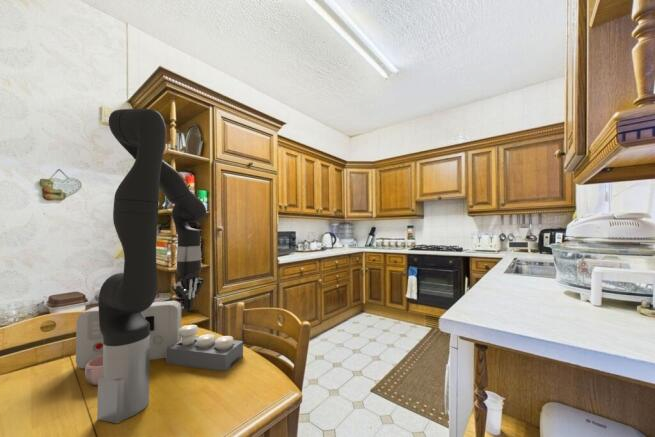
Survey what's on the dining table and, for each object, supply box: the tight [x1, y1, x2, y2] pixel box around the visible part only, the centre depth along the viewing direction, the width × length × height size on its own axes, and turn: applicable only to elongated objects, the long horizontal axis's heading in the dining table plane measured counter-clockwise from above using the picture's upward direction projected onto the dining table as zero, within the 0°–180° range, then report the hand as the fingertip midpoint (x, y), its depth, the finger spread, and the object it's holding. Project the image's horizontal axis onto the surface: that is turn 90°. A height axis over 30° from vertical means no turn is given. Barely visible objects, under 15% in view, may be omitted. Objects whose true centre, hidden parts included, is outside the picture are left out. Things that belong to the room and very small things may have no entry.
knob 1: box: [179, 324, 198, 346], centre depth 90 cm, size 6×6×6 cm
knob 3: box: [215, 335, 234, 351], centre depth 87 cm, size 6×6×6 cm
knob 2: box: [197, 333, 216, 348], centre depth 88 cm, size 6×6×6 cm
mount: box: [165, 335, 244, 372], centre depth 88 cm, size 10×22×5 cm, turn 77°
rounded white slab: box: [75, 300, 182, 369], centre depth 88 cm, size 29×8×18 cm, turn 107°
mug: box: [84, 355, 103, 386], centre depth 78 cm, size 12×10×6 cm
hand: (188, 309), depth 90 cm, fingers closed
